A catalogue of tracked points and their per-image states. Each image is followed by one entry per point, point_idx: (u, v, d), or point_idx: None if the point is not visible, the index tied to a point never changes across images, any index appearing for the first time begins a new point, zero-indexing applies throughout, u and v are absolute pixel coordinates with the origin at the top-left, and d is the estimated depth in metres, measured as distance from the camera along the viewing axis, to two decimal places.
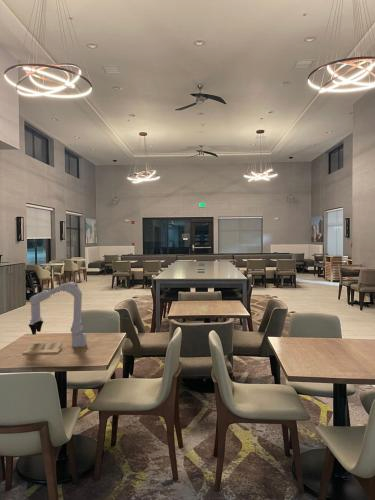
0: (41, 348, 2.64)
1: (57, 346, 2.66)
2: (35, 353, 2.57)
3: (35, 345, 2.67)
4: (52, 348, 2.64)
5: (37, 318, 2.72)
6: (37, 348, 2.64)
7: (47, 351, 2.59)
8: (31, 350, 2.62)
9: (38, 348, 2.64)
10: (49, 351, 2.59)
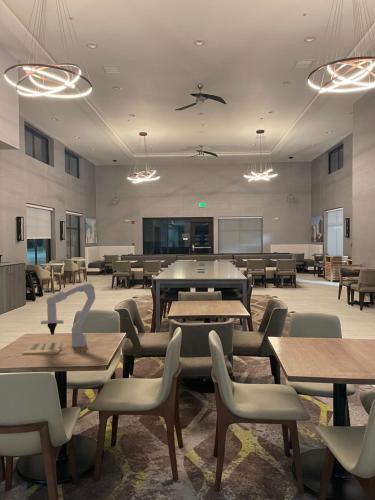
0: (41, 348, 2.64)
1: (57, 346, 2.66)
2: (35, 353, 2.57)
3: (35, 345, 2.67)
4: (52, 348, 2.64)
5: (48, 319, 2.70)
6: (37, 348, 2.64)
7: (47, 351, 2.59)
8: (31, 350, 2.62)
9: (38, 348, 2.64)
10: (49, 351, 2.59)
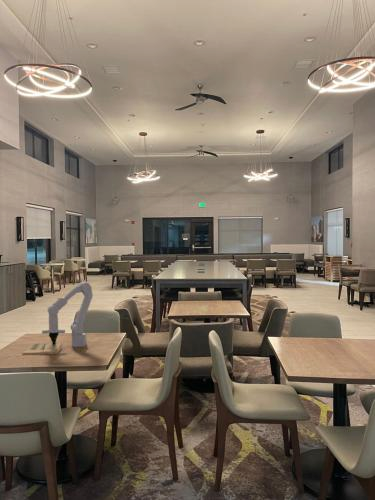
0: (41, 348, 2.64)
1: (57, 346, 2.66)
2: (35, 353, 2.57)
3: (35, 345, 2.67)
4: (52, 348, 2.64)
5: (49, 329, 2.66)
6: (37, 348, 2.64)
7: (47, 351, 2.59)
8: (31, 350, 2.62)
9: (38, 348, 2.64)
10: (49, 351, 2.59)
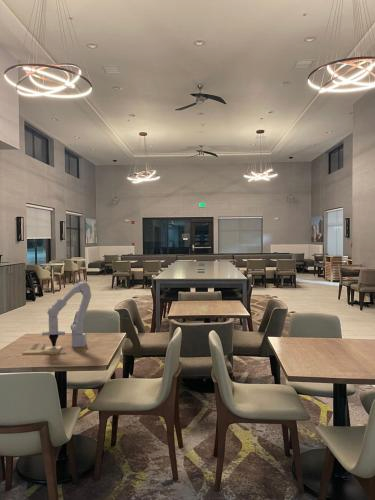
0: (41, 348, 2.64)
1: (57, 347, 2.67)
2: (35, 353, 2.57)
3: (35, 345, 2.67)
4: (52, 348, 2.65)
5: (49, 331, 2.66)
6: (37, 348, 2.64)
7: (47, 351, 2.59)
8: (31, 350, 2.62)
9: (38, 348, 2.64)
10: (49, 351, 2.59)
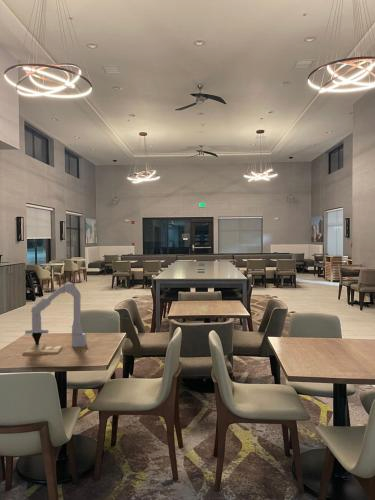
0: (41, 348, 2.64)
1: (57, 347, 2.67)
2: (35, 353, 2.57)
3: (35, 345, 2.67)
4: (52, 348, 2.65)
5: (32, 329, 2.65)
6: (37, 348, 2.64)
7: (47, 351, 2.59)
8: (31, 350, 2.62)
9: (38, 348, 2.64)
10: (49, 351, 2.59)
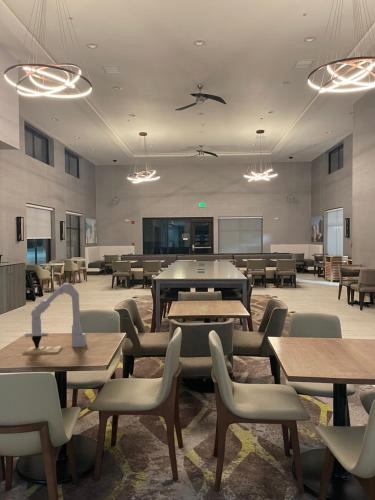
0: (41, 348, 2.65)
1: (57, 347, 2.67)
2: (35, 353, 2.57)
3: None
4: (52, 348, 2.65)
5: (32, 332, 2.65)
6: (37, 348, 2.65)
7: (47, 351, 2.59)
8: (31, 350, 2.62)
9: (38, 348, 2.65)
10: (49, 351, 2.59)
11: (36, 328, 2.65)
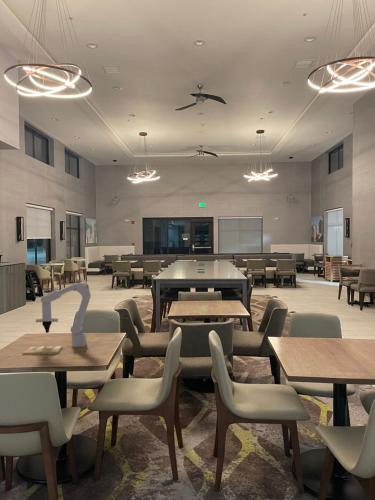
0: (41, 348, 2.65)
1: (57, 347, 2.67)
2: (35, 353, 2.57)
3: (36, 347, 2.68)
4: (52, 348, 2.65)
5: (42, 318, 2.73)
6: (37, 348, 2.65)
7: (47, 351, 2.59)
8: (31, 350, 2.62)
9: (38, 348, 2.65)
10: (49, 351, 2.59)
11: (46, 313, 2.72)
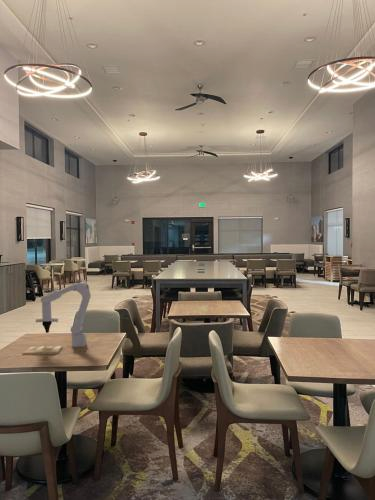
0: (41, 348, 2.65)
1: (57, 347, 2.67)
2: (35, 353, 2.57)
3: (36, 347, 2.68)
4: (52, 348, 2.65)
5: (42, 318, 2.73)
6: (37, 348, 2.65)
7: (47, 351, 2.59)
8: (31, 350, 2.62)
9: (38, 348, 2.65)
10: (49, 351, 2.59)
11: (46, 313, 2.72)
